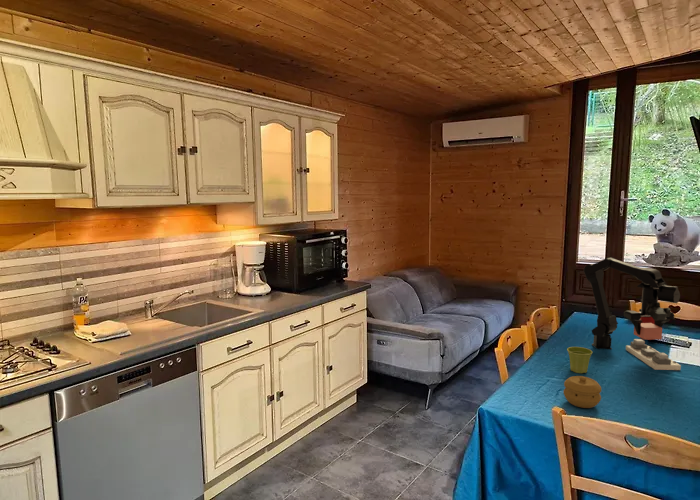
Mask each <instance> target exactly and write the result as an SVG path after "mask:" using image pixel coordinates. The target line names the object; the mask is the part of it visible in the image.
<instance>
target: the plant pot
mask: <svg viewBox="0 0 700 500" xmlns="http://www.w3.org/2000/svg"><path fill="white" fill-rule="evenodd" d="M566 350H567V352H568V357H569V365H570V366H569V367H570V371H571V372H573V373H576V374H584V373H585V374H587V372H588V370H589V369H588V368H589V363H590V359H591V356H592V354H593V351H592V350H591V349H589V348H586V347H583V346H582V347H581V346H570V347H567V349H566Z"/></svg>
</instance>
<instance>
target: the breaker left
mask: <svg viewBox="0 0 700 500" xmlns="http://www.w3.org/2000/svg"><path fill="white" fill-rule="evenodd" d="M632 342H633V343H635V344H636V345H645V343H646V341H645V340H644V339H642V338H634V339H633V341H632Z"/></svg>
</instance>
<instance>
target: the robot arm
mask: <svg viewBox="0 0 700 500" xmlns="http://www.w3.org/2000/svg"><path fill="white" fill-rule="evenodd" d="M610 268H611V269H612V270H617V271H619V272H620V273H625V274H627V275H629V276H630V275H631V276H633V277H635V278H636V279H637V280H639V281H641V283H639V284H637V288H641V289H642V292H641V293H642V294H641V299H639V302H640V303H641V308H639V310H638V312H637V311H635V310H625V311H624V312H623V317H624V318H626V319H628V320H630V321H631V323H632V324H633V328H634V327H635V329H636V332H637V334H638V335H640V331H641V323H642V320H640V319H641V317H652V318H653V319H654V324H655V325H657V326H659V327H662V328H663V325H664V324H665V323H667V322H670V320H675V314H674V312H673V311H672V310H671V308H670V307H661V303H660V302H659V300H660V301H661V302H666V303H673V304H678V303H679V301H680V300H681V294H680V291H679V287H678V286H676V285H675V286H674V285H673V286H672V285H668V284H667V282H666V281H665V280H664V277H662V273H661V271H660V270H658V269H656V268H649V267H641V266H636V265H633V264H631V263H628V262H624V261H622V260H618V259H616V258H614V257H605V258H604V259H602V260H600V261H598V262H595V263H592V264H586V265H585V266H584V268H583V273H584V276H585V279H586V280H587V281H588V282H589V283H590V286H591V289H592V293H593V297H594V301H595V305H596V309H597V318H596V325H597V326H595V327H594V328H593V329H591V333H592V335H593V343H591V346H593V347H594V348H596V349H597V350H612V340H613V339H612V337H611V335H613V333H614V331H616V330H617V329H618V324H619V322H618V321H617V316H616V315H613V314H612V313H611V311H610V308H609V304H608V301H607V295H606V293H605V288H604V283H603V280H604V275H605V274H604V271H606V270H608V269H610ZM640 312H641V313H640Z"/></svg>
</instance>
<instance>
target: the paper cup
mask: <svg viewBox="0 0 700 500" xmlns="http://www.w3.org/2000/svg"><path fill="white" fill-rule="evenodd" d="M639 313H641V312H640V311H639ZM640 320H642V323H652V324H654V319H653V318H652V317H641V319H640ZM651 340H654V339H650V340H649V341H651Z"/></svg>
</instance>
